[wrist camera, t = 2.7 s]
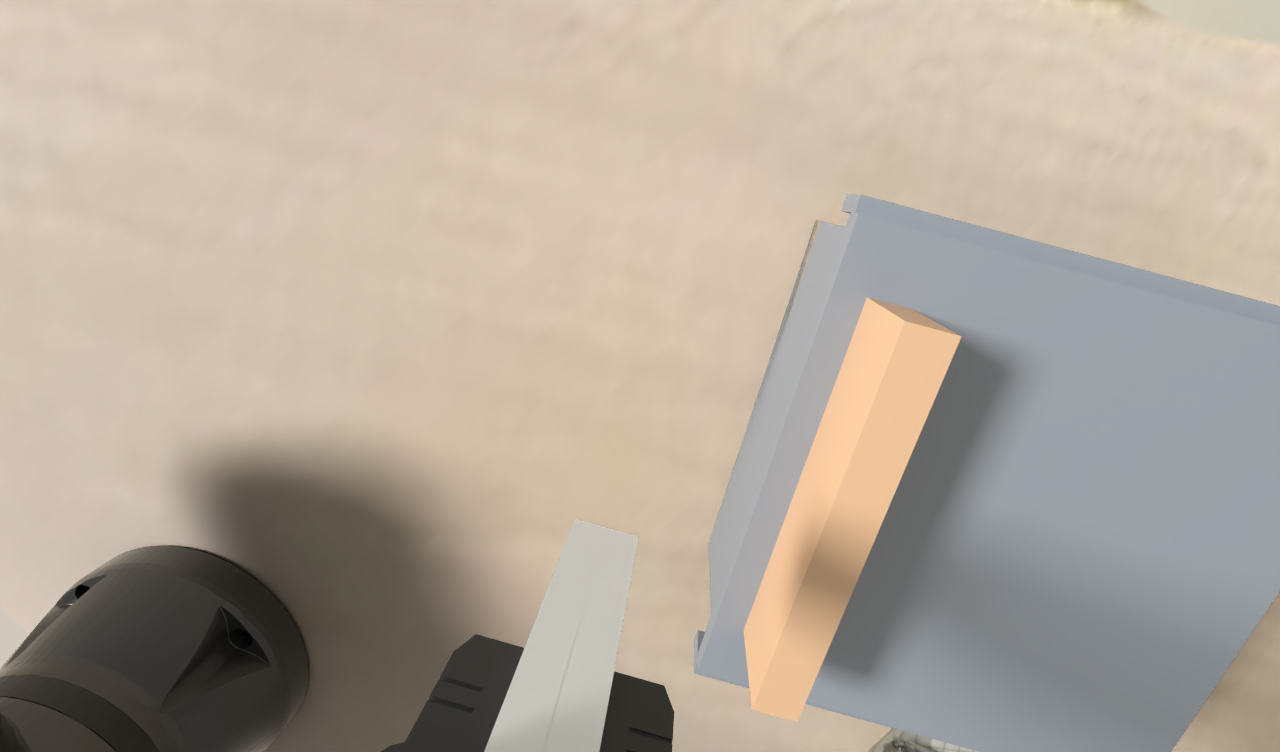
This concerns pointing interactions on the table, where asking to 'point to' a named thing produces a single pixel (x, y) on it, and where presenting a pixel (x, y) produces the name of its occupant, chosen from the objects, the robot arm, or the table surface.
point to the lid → (1008, 496)
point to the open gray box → (772, 396)
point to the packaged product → (913, 743)
